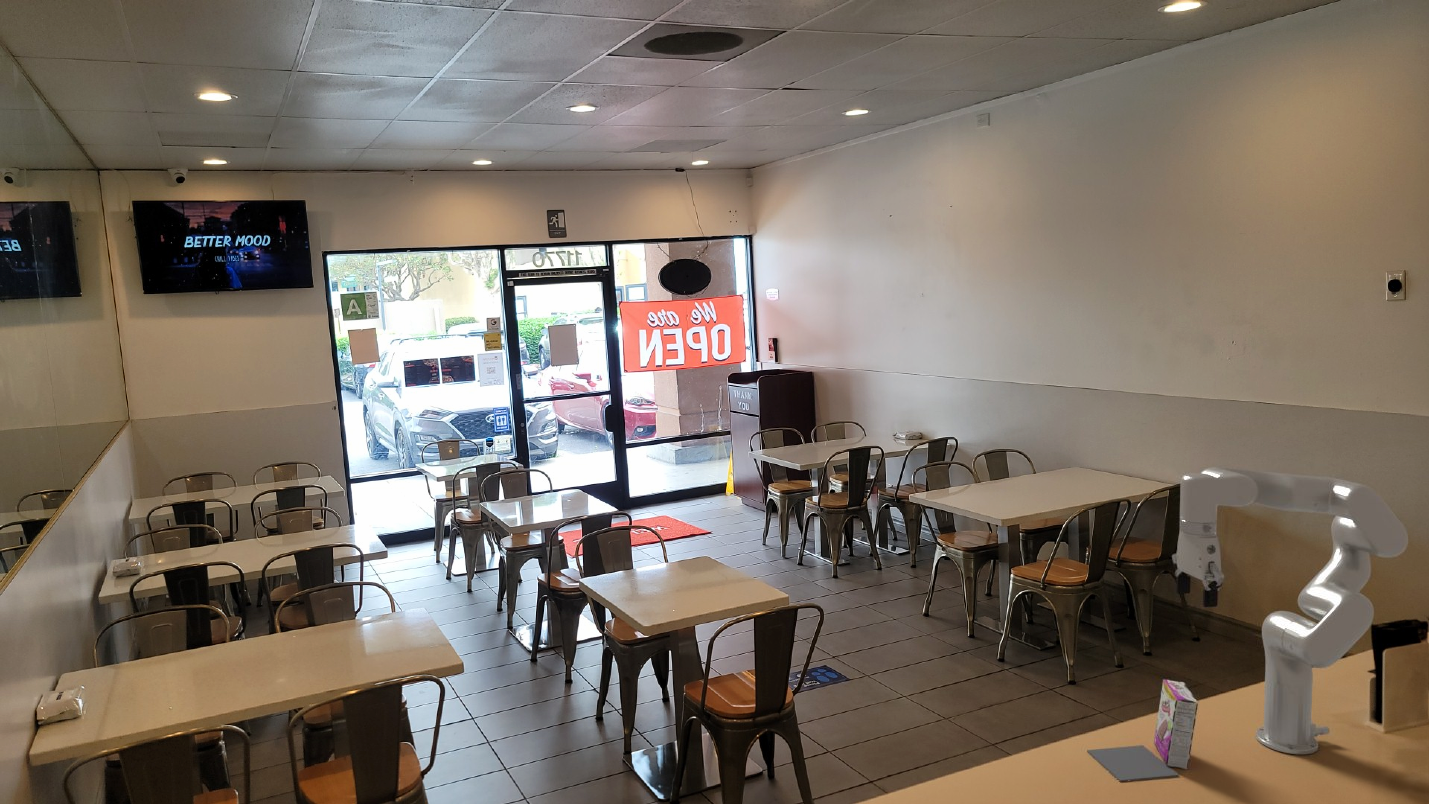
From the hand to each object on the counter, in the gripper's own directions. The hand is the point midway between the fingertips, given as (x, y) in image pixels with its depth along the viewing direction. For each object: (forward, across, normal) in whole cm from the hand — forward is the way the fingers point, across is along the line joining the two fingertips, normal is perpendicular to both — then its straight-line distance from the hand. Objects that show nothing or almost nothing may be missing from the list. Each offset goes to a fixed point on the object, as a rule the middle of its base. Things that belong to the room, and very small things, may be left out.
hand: (1196, 599), depth 211 cm
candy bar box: (+37, -2, +7) cm, 37 cm away
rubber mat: (+37, -3, +17) cm, 41 cm away
